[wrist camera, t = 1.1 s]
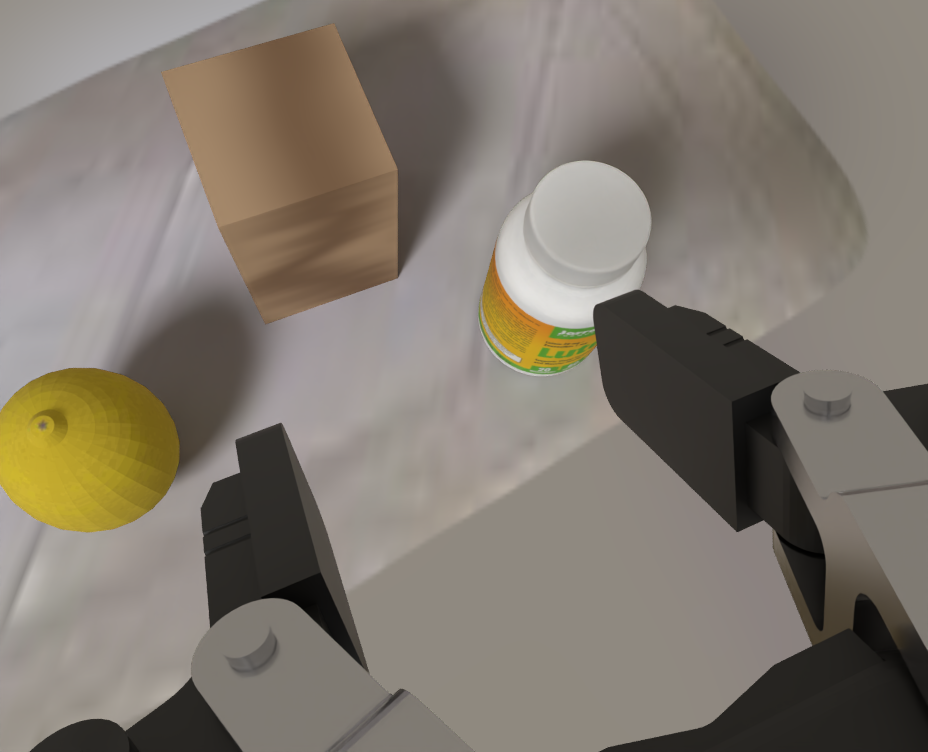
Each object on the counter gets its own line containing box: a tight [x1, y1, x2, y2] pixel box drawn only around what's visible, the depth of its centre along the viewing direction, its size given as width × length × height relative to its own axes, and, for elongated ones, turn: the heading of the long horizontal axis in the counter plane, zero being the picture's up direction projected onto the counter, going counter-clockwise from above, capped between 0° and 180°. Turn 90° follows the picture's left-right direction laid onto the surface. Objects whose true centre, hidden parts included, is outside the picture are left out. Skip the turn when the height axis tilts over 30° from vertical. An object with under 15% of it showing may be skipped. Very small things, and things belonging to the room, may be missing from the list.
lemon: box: [0, 368, 180, 532], centre depth 27 cm, size 6×6×8 cm
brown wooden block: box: [161, 23, 398, 324], centre depth 30 cm, size 6×6×9 cm
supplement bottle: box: [478, 161, 652, 376], centre depth 29 cm, size 5×5×10 cm
